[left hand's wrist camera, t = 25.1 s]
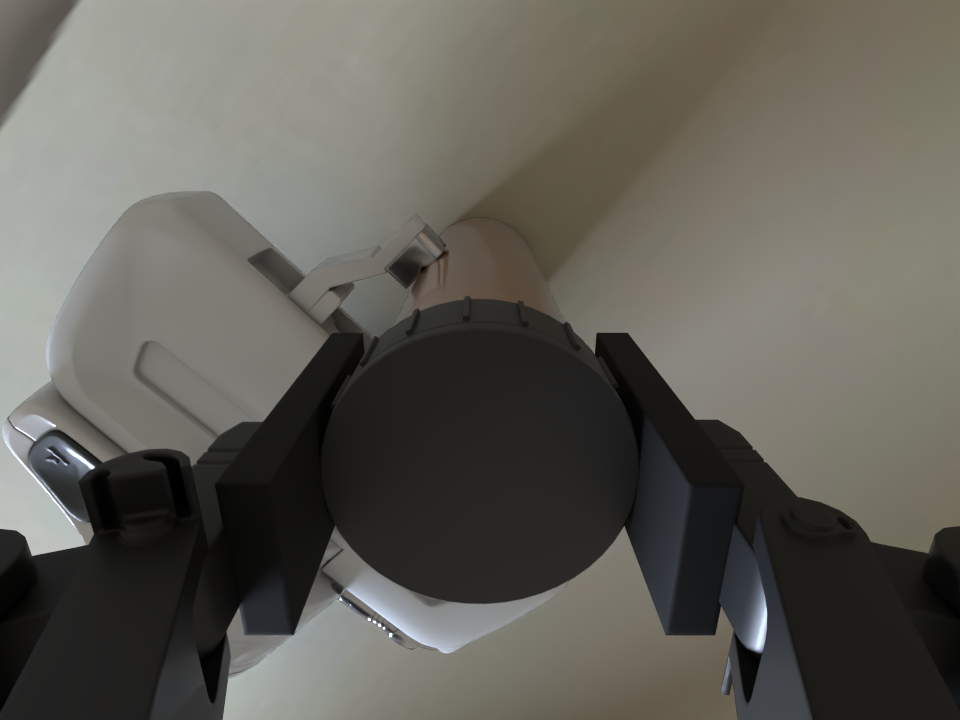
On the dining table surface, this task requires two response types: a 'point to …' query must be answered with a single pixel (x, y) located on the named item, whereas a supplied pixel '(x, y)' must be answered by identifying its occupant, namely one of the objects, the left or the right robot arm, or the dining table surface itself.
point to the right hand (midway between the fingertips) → (497, 299)
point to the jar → (481, 270)
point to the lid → (479, 454)
